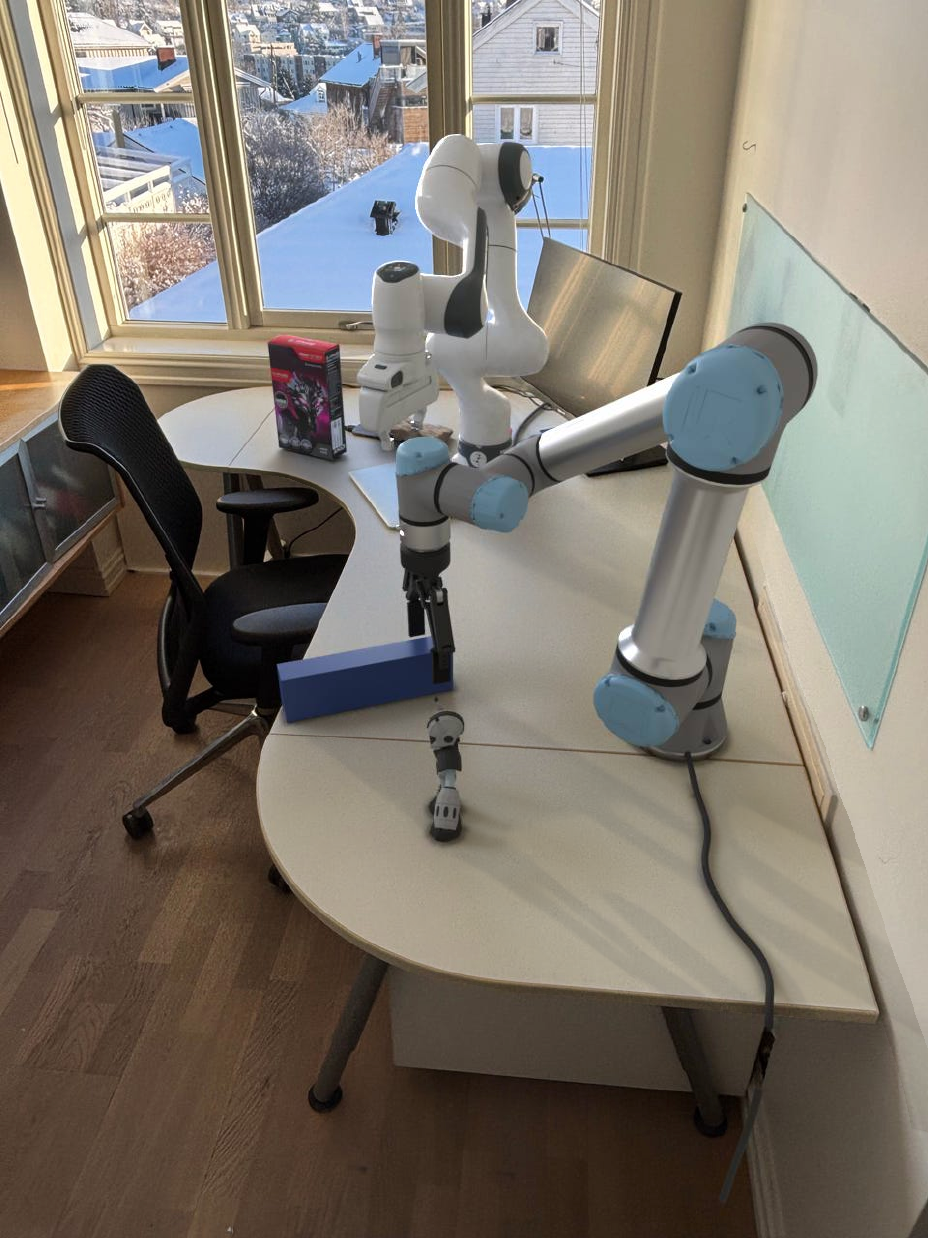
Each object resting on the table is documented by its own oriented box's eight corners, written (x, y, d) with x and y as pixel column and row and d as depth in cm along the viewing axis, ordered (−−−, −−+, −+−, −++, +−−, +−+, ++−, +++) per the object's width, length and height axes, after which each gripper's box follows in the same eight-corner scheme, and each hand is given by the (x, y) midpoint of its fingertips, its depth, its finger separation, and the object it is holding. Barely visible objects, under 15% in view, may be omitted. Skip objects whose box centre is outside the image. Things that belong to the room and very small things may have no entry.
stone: (355, 434, 231) (360, 411, 228) (377, 426, 244) (381, 404, 242) (433, 459, 227) (439, 435, 225) (451, 449, 241) (456, 426, 238)
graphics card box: (276, 448, 231) (264, 340, 216) (293, 439, 236) (282, 332, 221) (333, 462, 225) (324, 351, 209) (349, 452, 230) (341, 343, 214)
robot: (467, 874, 119) (468, 759, 108) (429, 876, 119) (427, 760, 108) (460, 769, 135) (460, 659, 124) (426, 770, 135) (424, 660, 124)
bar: (445, 673, 155) (444, 633, 150) (453, 689, 151) (453, 648, 147) (282, 705, 147) (276, 664, 143) (286, 722, 144) (281, 680, 139)
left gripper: (417, 344, 167) (419, 417, 174) (350, 377, 152) (355, 455, 160) (447, 350, 164) (447, 424, 172) (382, 384, 149) (385, 463, 157)
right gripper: (379, 509, 146) (386, 621, 157) (425, 586, 126) (429, 708, 138) (425, 502, 148) (428, 613, 159) (476, 577, 128) (476, 698, 140)
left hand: (402, 439), depth 166 cm, fingers open, 8 cm apart
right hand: (428, 657), depth 148 cm, fingers open, 13 cm apart
